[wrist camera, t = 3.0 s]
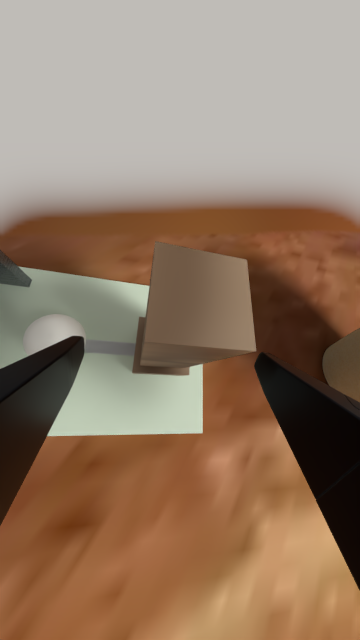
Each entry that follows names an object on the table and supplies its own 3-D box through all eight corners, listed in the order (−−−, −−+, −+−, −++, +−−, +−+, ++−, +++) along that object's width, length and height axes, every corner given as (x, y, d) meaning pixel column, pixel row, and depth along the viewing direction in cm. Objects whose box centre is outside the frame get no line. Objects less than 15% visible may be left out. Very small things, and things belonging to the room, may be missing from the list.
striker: (182, 331, 18) (257, 251, 7) (180, 375, 17) (272, 368, 5) (138, 326, 17) (141, 226, 6) (132, 373, 16) (122, 359, 4)
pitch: (200, 296, 21) (202, 294, 20) (199, 430, 16) (202, 433, 16) (-7, 266, 17) (-14, 261, 16) (-85, 435, 12) (-100, 438, 12)
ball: (101, 345, 16) (90, 335, 12) (60, 378, 15) (33, 377, 11) (72, 314, 16) (53, 295, 13) (29, 343, 15) (-6, 331, 11)
